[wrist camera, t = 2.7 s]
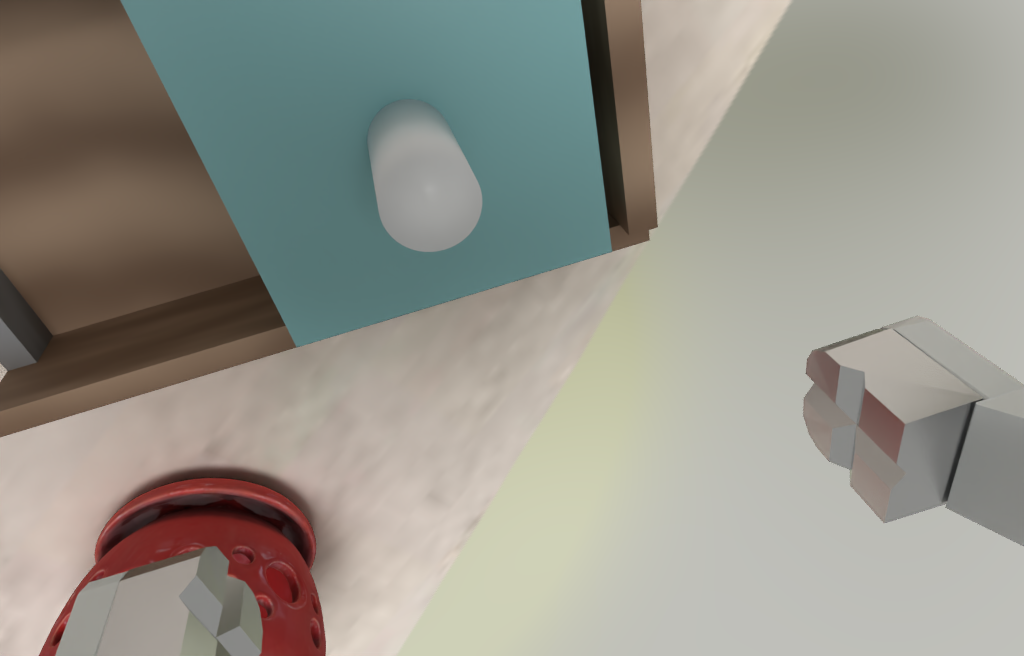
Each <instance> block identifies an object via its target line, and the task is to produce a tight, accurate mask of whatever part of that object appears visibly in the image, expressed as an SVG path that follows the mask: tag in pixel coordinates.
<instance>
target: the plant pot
mask: <svg viewBox="0 0 1024 656" xmlns="http://www.w3.org/2000/svg"><path fill="white" fill-rule="evenodd" d="M211 546H217V548H218V549H219V550H220V551H221V552H222V553H223V555H224V556H225V557H226V558H227V559H228V560H229V566H228V573H227V576H230V577H233V578H236V579H239V580H242V581H245V582H246V584H247V585H248V586H249V588H250V589H251V590H252V592H253V593H254V596H255V598H256V601H257V603H258V605H259V608H260V614H261V621H262V628H263V636H262V651H261V654H260V655H259V656H325V654H326V640H325V631H324V623H323V616H322V610H321V605H320V601H319V597H318V593H317V589H316V586H315V583H314V580H313V578H312V575H311V573H310V569H311V567H312V565H313V562H314V559H315V554H316V540H315V536H314V532H313V530H312V527H311V525H310V523H309V521H308V520H307V518H306V517H305V516H304V514H303V513H302V512H301V511H300V509H299V508H298V507H297V506H296V505H295V504H293V503H292V502H291V501H290V500H288V499H287V498H286V497H284V496H283V495H281V494H279V493H278V492H275V491H273V490H271V489H269V488H267V487H264V486H261V485H258V484H254V483H250V482H246V481H241V480H234V479H224V478H201V479H192V480H185V481H179V482H175V483H171V484H167V485H164V486H161V487H158V488H155V489H153V490H151V491H148V492H146V493H144V494H142V495H140V496H138V497H137V498H135V499H133V500H132V501H130V502H129V503H127V504H126V505H125V506H123V507H122V508H121V509H120V510H119V511H118V512H116V513H115V514H114V516H113V517H112V518H111V519H110V520H109V521H108V523H107V524H106V526H105V527H104V529H103V530H102V532H101V534H100V536H99V538H98V541H97V544H96V548H95V561H96V565H95V566H94V567H93V568H92V569H91V570H90V572H89V573H88V574H87V575H86V576H85V578H84V579H83V580H82V581H81V583H80V584H79V585H78V587H77V588H76V590H75V591H74V593H73V594H72V596H71V597H70V599H69V600H68V602H67V603H66V605H65V607H64V608H63V610H62V612H61V614H60V615H59V617H58V619H57V620H56V622H55V624H54V626H53V627H52V629H51V631H50V634H49V636H48V638H47V640H46V642H45V644H44V646H43V648H42V650H41V652H40V655H39V656H55V655H56V652H57V649H58V647H59V644H60V641H61V638H62V636H63V633H64V630H65V628H66V625H67V622H68V619H69V617H70V614H71V611H72V609H73V606H74V603H75V600H76V598H77V595H78V594H79V592H80V591H81V590H82V589H83V588H84V587H85V586H86V585H87V584H88V583H89V582H92V581H96V580H99V579H102V578H106V577H109V576H113V575H116V574H119V573H123V572H126V571H129V570H130V569H133V568H137V567H140V566H144V565H147V564H150V563H154V562H157V561H160V560H164V559H167V558H171V557H174V556H177V555H181V554H184V553H187V552H191V551H194V550H197V549H201V548H204V547H211Z"/></svg>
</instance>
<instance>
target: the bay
mask: <svg viewBox="0 0 1024 656" xmlns="http://www.w3.org/2000/svg"><path fill="white" fill-rule="evenodd" d="M581 6H582V14H583V22H584V30H585V38H586V46H587V54H588V62H589V71H590V79H591V87H592V95H593V103H594V111H595V119H596V127H597V135H598V143H599V151H600V159H601V167H602V175H603V183H604V191H605V199H606V207H607V215H608V223H609V231H610V239H611V247H612V251H616V250H619V249H622V248H625V247H629V246H632V245H635V244H639V243H642V242H645V241H648V240H649V230H650V229H653V228H657V227H658V225H657V212H656V198H655V185H654V172H653V158H652V145H651V131H650V118H649V105H648V91H647V78H646V64H645V51H644V38H643V24H642V11H641V0H581ZM293 348H296V345H295V343H294V341H293V339H292V337H291V335H290V333H289V331H288V329H287V327H286V325H285V323H284V321H283V319H282V317H281V315H280V313H279V311H278V309H277V307H276V305H275V303H274V302H273V300H272V298H271V296H270V294H269V292H268V290H267V288H266V286H265V284H264V282H263V280H262V278H261V276H260V274H259V272H258V270H257V268H256V266H255V264H254V262H253V260H252V258H251V256H250V254H249V252H248V250H247V248H246V246H245V244H244V243H243V241H242V239H241V237H240V235H239V233H238V231H237V229H236V227H235V225H234V223H233V221H232V219H231V217H230V215H229V213H228V211H227V209H226V207H225V205H224V203H223V201H222V199H221V197H220V195H219V193H218V191H217V189H216V187H215V185H214V183H213V182H212V180H211V178H210V176H209V174H208V172H207V170H206V168H205V166H204V164H203V162H202V160H201V158H200V156H199V154H198V152H197V150H196V148H195V146H194V144H193V142H192V140H191V138H190V136H189V134H188V132H187V130H186V128H185V126H184V124H183V123H182V121H181V119H180V117H179V115H178V113H177V111H176V109H175V107H174V105H173V103H172V101H171V99H170V97H169V95H168V93H167V91H166V89H165V87H164V85H163V83H162V81H161V79H160V77H159V75H158V73H157V71H156V69H155V67H154V65H153V63H152V62H151V60H150V58H149V56H148V54H147V52H146V50H145V48H144V46H143V44H142V42H141V40H140V38H139V36H138V34H137V32H136V30H135V28H134V26H133V24H132V22H131V20H130V18H129V16H128V14H127V12H126V10H125V8H124V6H123V4H122V3H121V1H120V0H0V363H1V364H2V365H3V366H4V367H5V368H6V369H7V371H8V372H7V373H6V375H5V376H4V378H3V379H2V381H1V382H0V437H3V436H6V435H9V434H13V433H16V432H19V431H22V430H26V429H29V428H32V427H36V426H39V425H42V424H45V423H49V422H52V421H55V420H59V419H62V418H65V417H69V416H72V415H75V414H78V413H82V412H85V411H88V410H92V409H95V408H98V407H101V406H105V405H108V404H111V403H115V402H118V401H121V400H125V399H128V398H131V397H134V396H138V395H141V394H144V393H148V392H151V391H154V390H158V389H161V388H164V387H167V386H171V385H174V384H177V383H181V382H184V381H187V380H190V379H194V378H197V377H200V376H204V375H207V374H210V373H214V372H217V371H220V370H223V369H227V368H230V367H233V366H237V365H240V364H243V363H246V362H250V361H253V360H256V359H260V358H263V357H266V356H270V355H273V354H276V353H279V352H283V351H286V350H289V349H293Z"/></svg>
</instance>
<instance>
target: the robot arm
mask: <svg viewBox="0 0 1024 656" xmlns="http://www.w3.org/2000/svg"><path fill="white" fill-rule="evenodd" d="M806 374H807V375H808V376H809V377H810V378H811V380H812V381H814V384H813V386H812V387H811V389H810V390H809V391H808V393H807V394H806V396H805V397H804V407H803V416H804V420H805V422H806V426H807V429H808V432H809V435H810V436H811V438H812V439H813V441H814V443H815V445H816V447H817V448H818V449H819V450H820V452H821V453H822V454H823V455H824V456H825V457H826V459H827V460H828V461H829V462H832V463H834V464H837V465H839V466H842V467H845V468H847V469H849V470H850V486H851V487H852V488H853V489H854V490H855V491H856V493H857V494H858V495H859V496H860V497H861V498H862V499H863V500H864V501H865V503H866V504H867V505H868V506H869V507H870V508H871V509H872V510H873V511H874V512H875V514H876V515H877V516H878V517H879V518H880V519H881V520H882V521H883V523H887V522H890V521H893V520H897V519H900V518H903V517H906V516H909V515H912V514H916V513H919V512H922V511H925V510H928V509H932V508H935V507H937V506H941V505H944V504H946V508H947V509H949V510H952V511H953V512H955V513H957V514H960V515H962V516H963V517H965V518H967V519H969V520H972V521H973V522H976V523H978V524H980V525H982V526H984V527H986V528H988V529H990V530H992V531H994V532H996V533H998V534H1000V535H1002V536H1004V537H1006V538H1008V539H1010V540H1012V541H1014V542H1016V543H1018V544H1020V545H1022V546H1024V385H1023V384H1022V383H1021V382H1019V381H1018V380H1017V379H1015V378H1014V377H1012V376H1011V375H1009V374H1008V373H1006V372H1005V371H1004V370H1002V369H1001V368H999V367H998V366H996V365H995V364H993V363H992V362H991V361H989V360H988V359H986V358H985V357H983V356H982V355H981V354H979V353H978V352H976V351H975V350H973V349H972V348H971V347H969V346H968V345H966V344H965V343H963V342H962V341H960V340H959V339H957V338H956V337H954V336H953V335H952V334H950V333H949V332H947V331H946V330H944V329H943V328H942V327H940V326H939V325H937V324H936V323H934V322H933V321H932V320H930V319H928V318H924V317H920V316H915V317H911V318H908V319H905V320H903V321H899V322H896V323H893V324H890V325H887V326H884V327H882V328H880V329H875V330H873V331H869V332H866V333H863V334H861V335H858V336H854V337H852V338H848V339H845V340H842V341H839V342H836V343H833V344H830V345H828V346H825V347H821V348H818V349H815V350H813V351H812V352H811V354H810V355H809V357H808V359H807V367H806ZM228 566H229V560H228V559H227V558H226V557H225V556H224V555H223V553H222V552H221V551H220V550H219V549H218V548H217V546H211V547H204V548H201V549H197V550H194V551H191V552H187V553H184V554H181V555H177V556H174V557H171V558H167V559H164V560H160V561H157V562H154V563H150V564H147V565H144V566H140V567H137V568H133V569H130V570H129V571H126V572H123V573H119V574H116V575H113V576H109V577H106V578H102V579H99V580H96V581H92V582H89V583H88V584H87V585H86V586H85V587H84V588H83V589H82V590H81V591H80V592H79V594H78V595H77V598H76V600H75V603H74V606H73V609H72V611H71V614H70V617H69V619H68V622H67V625H66V628H65V630H64V633H63V636H62V638H61V641H60V644H59V647H58V649H57V652H56V655H55V656H259V655H260V654H261V651H262V636H263V628H262V621H261V614H260V608H259V605H258V603H257V601H256V598H255V596H254V593H253V592H252V590H251V589H250V588H249V586H248V585H247V584H246V582H245V581H242V580H239V579H236V578H233V577H230V576H227V573H228Z"/></svg>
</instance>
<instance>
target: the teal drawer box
mask: <svg viewBox="0 0 1024 656" xmlns="http://www.w3.org/2000/svg"><path fill="white" fill-rule="evenodd" d="M120 1H121V3H122V4H123V6H124V8H125V10H126V12H127V14H128V16H129V18H130V20H131V22H132V24H133V26H134V28H135V30H136V32H137V34H138V36H139V38H140V40H141V42H142V44H143V46H144V48H145V50H146V52H147V54H148V56H149V58H150V60H151V62H152V63H153V65H154V67H155V69H156V71H157V73H158V75H159V77H160V79H161V81H162V83H163V85H164V87H165V89H166V91H167V93H168V95H169V97H170V99H171V101H172V103H173V105H174V107H175V109H176V111H177V113H178V115H179V117H180V119H181V121H182V123H183V124H184V126H185V128H186V130H187V132H188V134H189V136H190V138H191V140H192V142H193V144H194V146H195V148H196V150H197V152H198V154H199V156H200V158H201V160H202V162H203V164H204V166H205V168H206V170H207V172H208V174H209V176H210V178H211V180H212V182H213V183H214V185H215V187H216V189H217V191H218V193H219V195H220V197H221V199H222V201H223V203H224V205H225V207H226V209H227V211H228V213H229V215H230V217H231V219H232V221H233V223H234V225H235V227H236V229H237V231H238V233H239V235H240V237H241V239H242V241H243V243H244V244H245V246H246V248H247V250H248V252H249V254H250V256H251V258H252V260H253V262H254V264H255V266H256V268H257V270H258V272H259V274H260V276H261V278H262V280H263V282H264V284H265V286H266V288H267V290H268V292H269V294H270V296H271V298H272V300H273V302H274V303H275V305H276V307H277V309H278V311H279V313H280V315H281V317H282V319H283V321H284V323H285V325H286V327H287V329H288V331H289V333H290V335H291V337H292V339H293V341H294V343H295V345H296V347H300V346H303V345H306V344H310V343H313V342H316V341H320V340H323V339H326V338H330V337H333V336H336V335H339V334H343V333H346V332H349V331H353V330H356V329H359V328H362V327H366V326H369V325H372V324H376V323H379V322H382V321H386V320H389V319H392V318H395V317H399V316H402V315H405V314H409V313H412V312H415V311H419V310H422V309H425V308H428V307H432V306H435V305H438V304H442V303H445V302H448V301H451V300H455V299H458V298H461V297H465V296H468V295H471V294H475V293H478V292H481V291H484V290H488V289H491V288H494V287H498V286H501V285H504V284H507V283H511V282H514V281H517V280H521V279H524V278H527V277H531V276H534V275H537V274H540V273H544V272H547V271H550V270H554V269H557V268H560V267H563V266H567V265H570V264H573V263H577V262H580V261H583V260H587V259H590V258H593V257H596V256H600V255H603V254H606V253H610V252H612V247H611V239H610V231H609V223H608V215H607V207H606V199H605V191H604V183H603V175H602V167H601V159H600V151H599V143H598V135H597V127H596V119H595V111H594V103H593V95H592V87H591V79H590V71H589V62H588V54H587V46H586V38H585V30H584V22H583V14H582V6H581V0H120Z"/></svg>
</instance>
